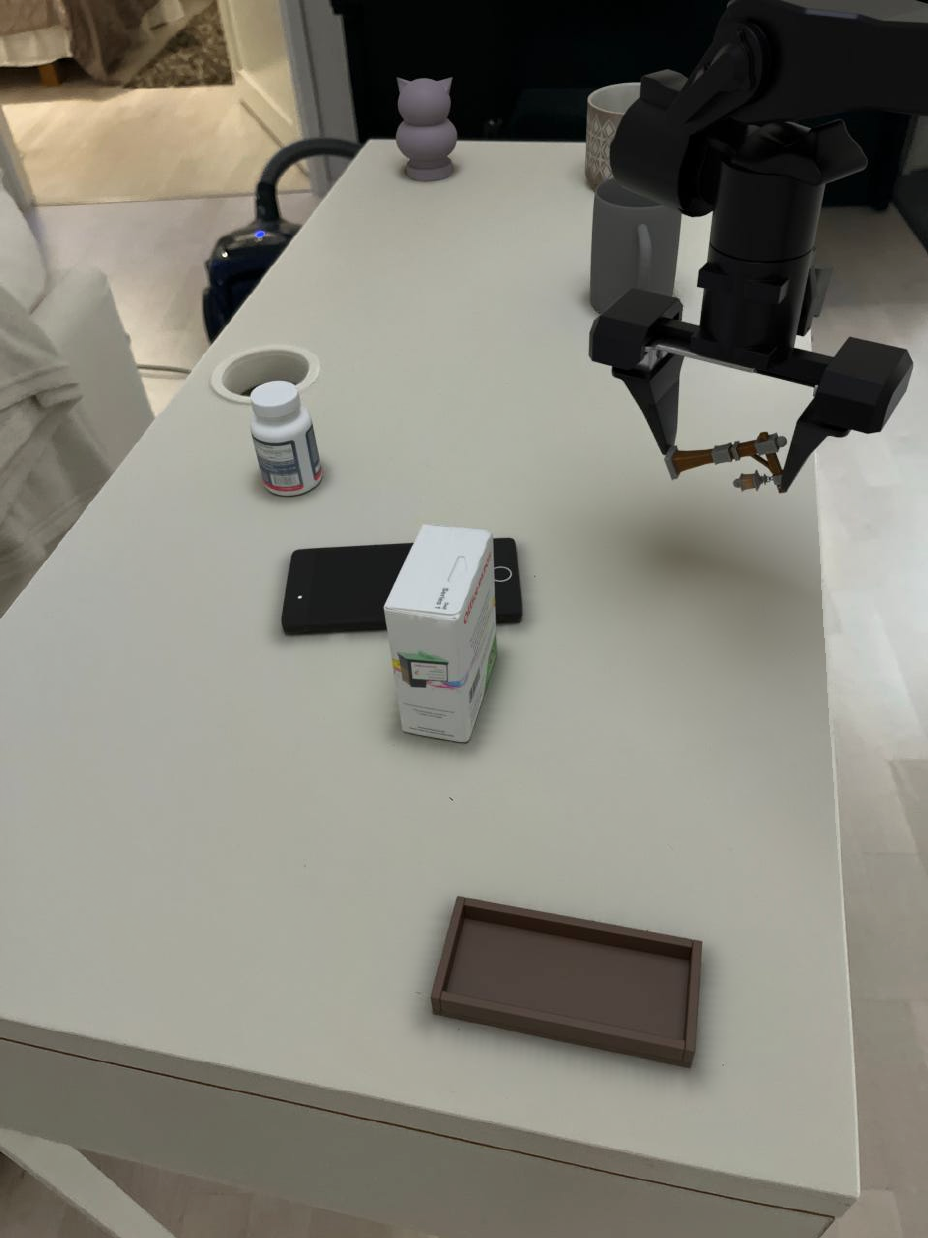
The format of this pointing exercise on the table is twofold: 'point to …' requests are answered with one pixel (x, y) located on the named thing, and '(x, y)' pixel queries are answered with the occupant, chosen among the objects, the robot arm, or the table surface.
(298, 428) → the pill bottle
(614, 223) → the mug
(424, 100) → the cat figurine
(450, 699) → the ink box
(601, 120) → the planter
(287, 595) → the cell phone
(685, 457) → the wooden post with brackets
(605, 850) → the table surface
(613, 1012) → the walnut tray
